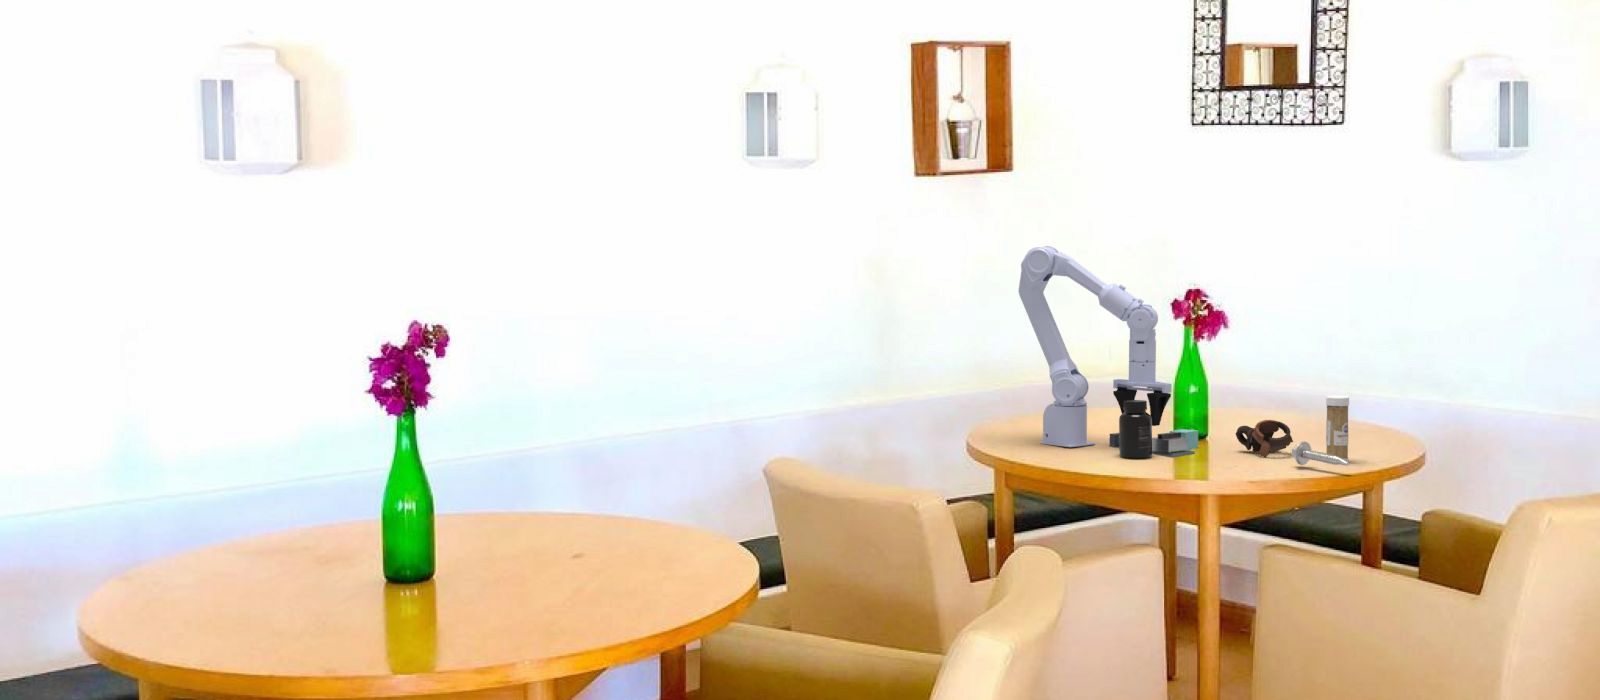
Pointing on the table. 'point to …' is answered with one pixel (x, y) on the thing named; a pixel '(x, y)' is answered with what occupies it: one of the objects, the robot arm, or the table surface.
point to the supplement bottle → (1135, 431)
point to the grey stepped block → (1169, 442)
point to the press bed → (1115, 443)
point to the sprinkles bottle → (1337, 425)
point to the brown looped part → (1264, 437)
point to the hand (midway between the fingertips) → (1141, 423)
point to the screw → (1314, 455)
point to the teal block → (1189, 437)
